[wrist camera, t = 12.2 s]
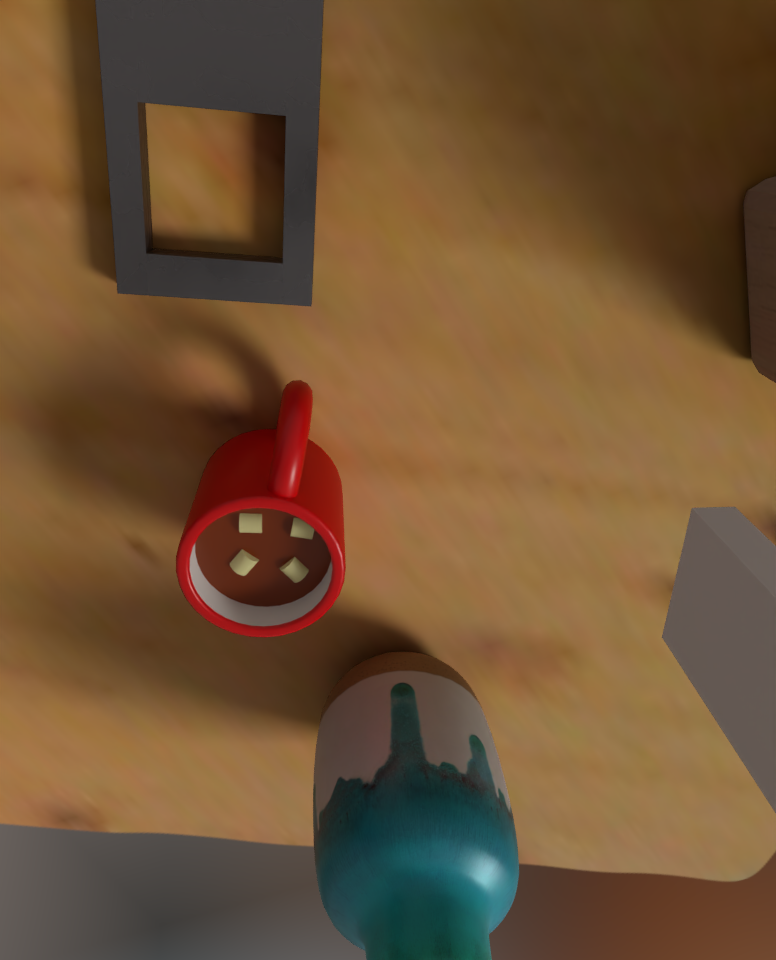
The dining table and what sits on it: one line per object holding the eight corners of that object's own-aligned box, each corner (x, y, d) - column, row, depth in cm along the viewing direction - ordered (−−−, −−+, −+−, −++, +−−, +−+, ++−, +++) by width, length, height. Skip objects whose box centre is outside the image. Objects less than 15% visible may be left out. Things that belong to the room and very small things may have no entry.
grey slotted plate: (125, 286, 36) (116, 294, 34) (80, -341, 26) (65, -369, 25) (311, 299, 37) (311, 307, 35) (335, -303, 27) (335, -327, 26)
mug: (371, 372, 39) (381, 429, 32) (328, 562, 44) (328, 648, 37) (219, 342, 38) (195, 396, 30) (193, 542, 43) (166, 627, 36)
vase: (299, 735, 50) (285, 1062, 33) (336, 609, 45) (342, 910, 28) (449, 756, 52) (509, 1076, 35) (498, 637, 47) (595, 936, 30)
